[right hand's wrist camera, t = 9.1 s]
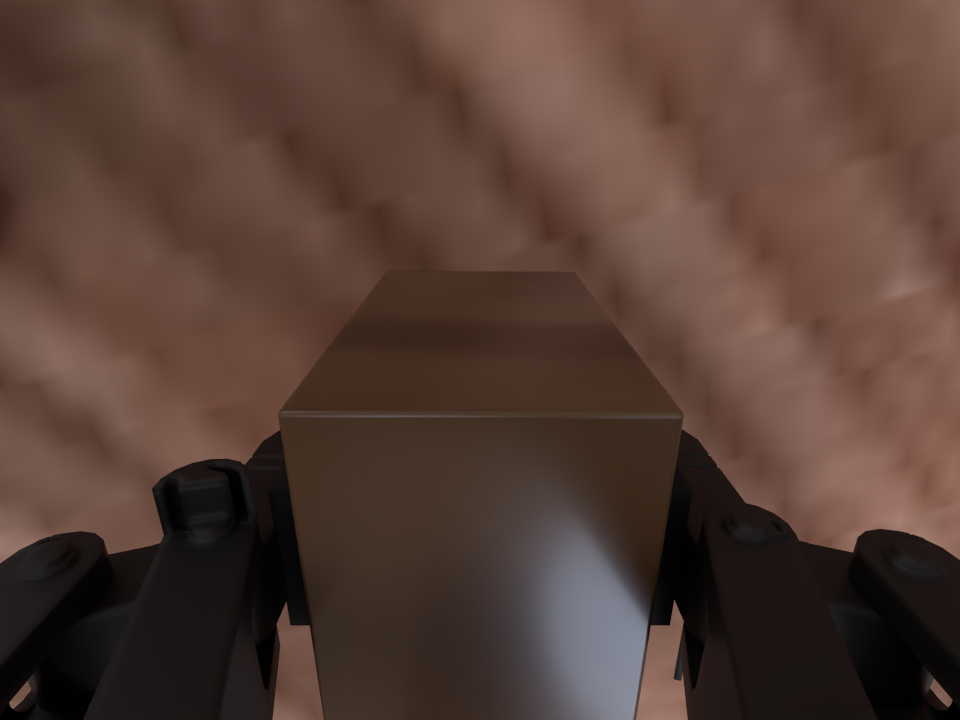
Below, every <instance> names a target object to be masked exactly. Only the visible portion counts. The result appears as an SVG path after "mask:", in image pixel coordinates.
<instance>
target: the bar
mask: <svg viewBox="0 0 960 720" xmlns="http://www.w3.org/2000/svg"><path fill="white" fill-rule="evenodd" d="M278 417H279V423H280V430H281V437H282V443H283V450H284V457H285V463H286V470H287V477H288V483H289V490H290V496H291V503H292V510H293V516H294V523H295V530H296V536H297V543H298V550H299V556H300V563H301V569H302V576H303V583H304V589H305V596H306V603H307V609H308V616H309V623H310V629H311V636H312V643H313V649H314V656H315V662H316V669H317V676H318V682H319V689H320V696H321V702H322V709H323V716H324V720H636V716H637V709H638V703H639V697H640V690H641V684H642V678H643V671H644V665H645V659H646V652H647V646H648V639H649V633H650V627H651V620H652V614H653V608H654V601H655V595H656V588H657V582H658V576H659V569H660V563H661V557H662V550H663V544H664V538H665V531H666V525H667V518H668V512H669V506H670V499H671V493H672V487H673V480H674V474H675V468H676V461H677V455H678V448H679V442H680V436H681V429H682V423H683V413H682V411H681V409H680V408H679V407H678V405H677V404H676V403H675V402H674V400H673V399H672V398H671V396H670V395H669V394H668V393H667V391H666V390H665V389H664V387H663V386H662V385H661V384H660V382H659V381H658V380H657V378H656V377H655V376H654V374H653V373H652V372H651V371H650V369H649V368H648V367H647V365H646V364H645V363H644V362H643V360H642V359H641V358H640V356H639V355H638V354H637V353H636V351H635V350H634V349H633V347H632V346H631V345H630V343H629V342H628V341H627V340H626V338H625V337H624V336H623V334H622V333H621V332H620V331H619V329H618V328H617V327H616V325H615V324H614V323H613V322H612V320H611V319H610V318H609V316H608V315H607V314H606V312H605V311H604V310H603V309H602V307H601V306H600V305H599V303H598V302H597V301H596V300H595V298H594V297H593V296H592V294H591V293H590V292H589V291H588V289H587V288H586V287H585V285H584V284H583V283H582V282H581V280H580V279H579V278H578V276H577V275H576V274H575V273H574V272H430V271H388V272H386V273H385V275H384V276H383V277H382V279H381V280H380V281H379V282H378V284H377V285H376V286H375V288H374V289H373V290H372V292H371V293H370V294H369V295H368V297H367V298H366V299H365V301H364V302H363V303H362V305H361V306H360V307H359V308H358V310H357V311H356V312H355V314H354V315H353V316H352V317H351V319H350V320H349V321H348V323H347V324H346V325H345V327H344V328H343V329H342V330H341V332H340V333H339V334H338V336H337V337H336V338H335V340H334V341H333V342H332V343H331V345H330V346H329V347H328V349H327V350H326V351H325V353H324V354H323V355H322V356H321V358H320V359H319V360H318V362H317V363H316V364H315V365H314V367H313V368H312V369H311V371H310V372H309V373H308V375H307V376H306V377H305V378H304V380H303V381H302V382H301V384H300V385H299V386H298V388H297V389H296V390H295V391H294V393H293V394H292V395H291V397H290V398H289V399H288V401H287V402H286V403H285V404H284V406H283V407H282V408H281V410H280V411H279V414H278Z"/></svg>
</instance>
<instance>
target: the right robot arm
mask: <svg viewBox="0 0 960 720" xmlns="http://www.w3.org/2000/svg"><path fill="white" fill-rule="evenodd" d="M152 491H153V495H154V499H155V502H156V506H157V510H158V514H159V518H160V521H161V525H162V529H163V533H164V537H163V539H162V541H161V543H160V544H156V545H152V546H148V547H144V548H139V549H134V550H129V551H124V552H119V553H115V554H110V555H108V553H107V550H106V547H105V543H104V540H103V539H102V538H101V537H99V536H98V535H97V534H95V533H89V532H82V531H79V532H71V533H63V534H58V535H54V536H52V537H47V538H44V539H41V540H39V541H37V542H35V543H33V544H31V545H29V546H27V547H25V548H23V549H21V550H19V551H17V552H16V553H15V554H13V555H12V556H10V557H9V558H7V559H6V560H5V561H3V562H2V563H1V564H0V720H272V717H273V708H274V698H275V689H276V680H277V670H278V661H279V651H280V642H279V635H278V630H277V622H278V619H279V617H280V615H281V612H282V610H283V608H284V605H285V603H286V601H287V607H288V613H289V619H290V625H310V623H309V616H308V609H307V603H306V596H305V589H304V583H303V576H302V569H301V563H300V556H299V550H298V543H297V536H296V530H295V523H294V516H293V510H292V503H291V496H290V490H289V483H288V477H287V470H286V463H285V457H284V450H283V443H282V437H281V430H280V431H278V432H277V433H275V434H273V435H272V436H270V437H269V438H267V439H266V440H264V441H263V442H262V443H261V445H260V446H259V447H258V449H257V450H256V451H255V453H254V454H253V457H252V458H250V459H249V461H248V462H247V463H246V465H244V464H242V463H241V462H239V461H235V460H230V459H210V460H205V461H200V462H195V463H192V464H189V465H186V466H184V467H181V468H179V469H176V470H174V471H173V472H171V473H169V474H168V475H166V476H165V477H163V478H161V479H160V480H159V481H158V483H157V484H156V485H155V486H154V487H153V488H152ZM674 600H675V602H676V604H677V606H678V609H679V611H680V613H681V616H682V618H683V620H684V624H683V630H682V635H681V641H680V646H679V652H678V657H677V663H676V668H675V674H674V679H675V680H680V681H681V677H682V672H683V678H684V688H685V697H686V706H687V716H688V720H960V560H959V559H957V558H956V557H955V556H953V555H952V554H950V553H949V552H947V551H946V550H945V549H943V548H942V547H939V546H937V545H935V544H933V543H931V542H929V541H927V540H925V539H923V538H921V537H918V536H916V535H913V534H912V535H910V534H909V533H905V532H900V531H893V530H884V529H877V530H870V531H865V532H864V533H863V534H862V535H860V536H859V537H858V539H857V542H856V545H855V548H854V551H853V553H852V552H847V551H842V550H838V549H833V548H828V547H823V546H818V545H813V544H809V543H806V542H802V541H799V540H798V538H797V536H796V534H795V532H794V531H793V530H792V528H791V527H790V526H789V524H788V523H786V522H785V521H784V520H782V519H781V518H780V517H778V516H777V515H776V514H774V513H772V512H770V511H767V510H765V509H763V508H761V507H758V506H755V505H751V504H746V503H745V502H744V500H743V499H742V498H741V496H740V495H739V494H738V492H737V491H736V490H735V488H734V487H733V486H732V484H731V483H730V482H729V480H728V479H727V478H726V477H725V475H724V474H723V473H722V471H721V470H720V469H719V468H717V465H716V463H715V462H714V461H713V459H712V458H711V457H710V456H708V453H707V451H706V450H705V449H704V447H703V446H702V445H701V443H700V442H699V441H698V439H696V438H694V437H693V436H691V435H690V434H688V433H687V432H685V431H684V430H682V429H681V436H680V442H679V448H678V455H677V461H676V468H675V474H674V480H673V487H672V493H671V499H670V506H669V512H668V518H667V525H666V531H665V538H664V544H663V550H662V557H661V563H660V569H659V576H658V582H657V588H656V595H655V601H654V608H653V614H652V620H651V625H670V621H671V615H672V609H673V603H674ZM934 678H935V680H936V681H937V682H938V683H939V684H940V686H941V687H942V688H943V689H944V690H945V691H946V693H947V694H948V695H949V696H950V697H951V698H952V700H953V701H952V704H951V706H950V707H947V706H946V705H945V704H944V703H943V702H942V701H940V700H939V698H938V697H937V696H936V695H935V694H934V692H933V691H932V690H931V689H930V686H931V684H932V682H933V679H934ZM27 681H28V683H29V685H30V687H31V691H30V692H29V694H28V695H27V696H26V697H25V699H24V700H23V701H22V702H21V703H20V704H19V705H17V706H16V707H15V708H14V709H12V708H11V707H10V705H9V702H10V701H11V700H12V698H13V697H14V696H15V695H16V694H17V692H18V691H19V690H20V689H21V688H22V686H23V685H24V684H25V683H26V682H27Z"/></svg>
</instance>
